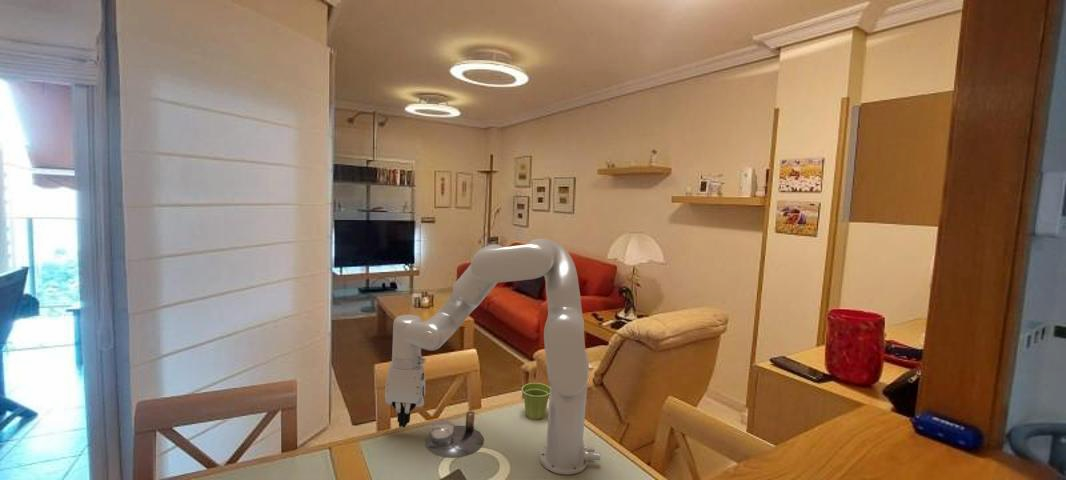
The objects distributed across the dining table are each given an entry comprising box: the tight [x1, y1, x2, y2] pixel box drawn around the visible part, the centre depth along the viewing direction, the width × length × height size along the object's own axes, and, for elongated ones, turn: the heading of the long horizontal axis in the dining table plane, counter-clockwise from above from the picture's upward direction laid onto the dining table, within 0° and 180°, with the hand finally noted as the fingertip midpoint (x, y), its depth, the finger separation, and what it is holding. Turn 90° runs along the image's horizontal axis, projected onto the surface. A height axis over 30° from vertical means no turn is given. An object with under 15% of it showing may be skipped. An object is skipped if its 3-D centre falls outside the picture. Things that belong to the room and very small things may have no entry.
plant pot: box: [521, 382, 550, 421], centre depth 144 cm, size 9×9×9 cm
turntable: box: [424, 410, 485, 459], centre depth 125 cm, size 16×16×6 cm
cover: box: [430, 419, 455, 446], centre depth 125 cm, size 6×6×4 cm
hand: (403, 424), depth 126 cm, fingers closed
